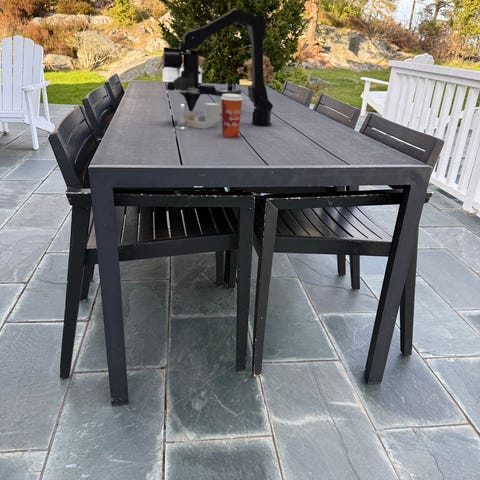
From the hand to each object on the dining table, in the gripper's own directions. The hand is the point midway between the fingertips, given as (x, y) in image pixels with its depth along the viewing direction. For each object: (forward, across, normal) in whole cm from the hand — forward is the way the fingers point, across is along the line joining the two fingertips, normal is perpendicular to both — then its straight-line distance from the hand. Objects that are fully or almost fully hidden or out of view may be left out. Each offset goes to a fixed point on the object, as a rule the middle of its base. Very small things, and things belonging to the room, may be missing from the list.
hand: (191, 111), depth 170 cm
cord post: (+5, +2, -10) cm, 11 cm away
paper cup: (+5, +22, -8) cm, 25 cm away
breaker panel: (+5, +2, 0) cm, 6 cm away
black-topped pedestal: (+6, -4, +36) cm, 36 cm away
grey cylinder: (+5, +2, +12) cm, 13 cm away
